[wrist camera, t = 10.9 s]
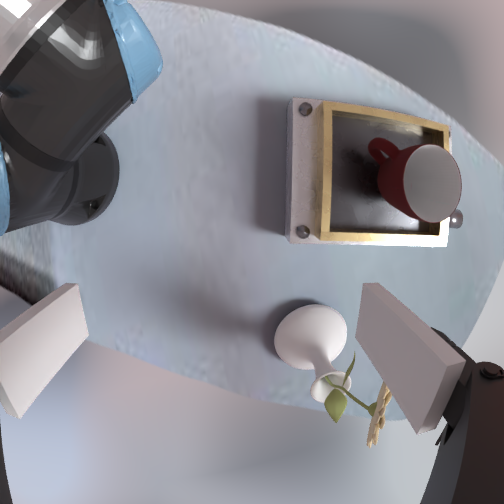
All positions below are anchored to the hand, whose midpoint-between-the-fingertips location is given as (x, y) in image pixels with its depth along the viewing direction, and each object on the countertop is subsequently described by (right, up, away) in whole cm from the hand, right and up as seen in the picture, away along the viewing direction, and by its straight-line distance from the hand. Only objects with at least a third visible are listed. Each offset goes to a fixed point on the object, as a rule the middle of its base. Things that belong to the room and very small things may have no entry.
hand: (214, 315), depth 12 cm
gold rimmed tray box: (+20, +14, +27) cm, 36 cm away
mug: (+18, +13, +22) cm, 31 cm away
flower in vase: (+11, -9, +32) cm, 35 cm away
